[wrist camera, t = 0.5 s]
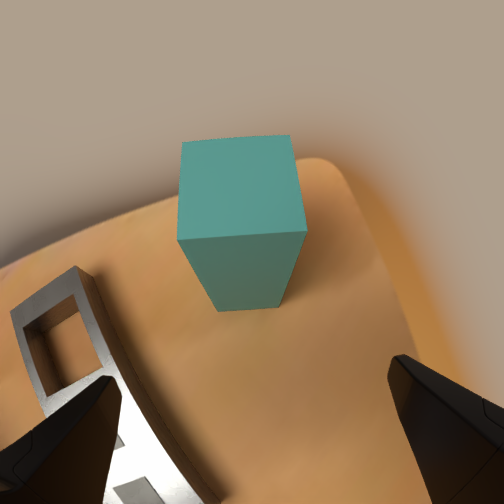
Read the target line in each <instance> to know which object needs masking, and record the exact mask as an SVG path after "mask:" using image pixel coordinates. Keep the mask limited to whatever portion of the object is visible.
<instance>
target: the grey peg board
mask: <svg viewBox="0 0 504 504" xmlns="http://www.w3.org/2000/svg"><path fill="white" fill-rule="evenodd" d="M77 311H80V314H81V316H82V319H83V322H84V324H85V327H86V329H87V332H88V334H89V336H90V339H91V341H92V343H93V346H94V348H95V350H96V353H97V355H98V357H99V359H100V362H101V364H102V366H103V367H102V368H101V369H99V370H97V371H95V372H93V373H91V374H90V375H88V376H86V377H84V378H82V379H81V380H79V381H77V382H75V383H73V384H71V385H70V386H68V387H66V388H63V385H62V383H61V381H60V378H59V376H58V373H57V371H56V368H55V366H54V363H53V361H52V358H51V355H50V353H49V350H48V347H47V344H46V341H45V338H44V335H43V333H45V332H46V331H48V330H49V329H51V328H52V327H54V326H56V325H57V324H59V323H60V322H62V321H63V320H65V319H66V318H68V317H70V316H71V315H73V314H74V313H76V312H77ZM10 314H11V318H12V322H13V326H14V330H15V333H16V337H17V340H18V344H19V347H20V350H21V353H22V357H23V360H24V363H25V366H26V369H27V371H28V374H29V377H30V380H31V382H32V385H33V388H34V390H35V393H36V395H37V398H38V400H39V402H40V405H41V407H42V409H43V412H44V414H45V416H46V418H47V417H49V416H50V415H51V414H52V413H54V412H55V411H56V410H58V409H59V408H60V407H62V406H63V405H64V404H65V403H67V402H68V401H69V400H71V399H72V398H73V397H74V396H76V395H77V394H78V393H80V392H81V391H82V390H83V389H85V388H86V387H87V386H89V385H90V384H91V383H92V382H94V381H95V380H96V379H98V378H99V377H100V376H102V375H109V376H113V377H114V378H115V379H116V382H117V384H118V386H119V389H120V391H121V393H122V404H121V411H120V419H119V426H118V434H117V439H116V444H115V448H114V452H113V456H112V461H111V465H110V470H109V474H108V479H107V484H106V489H105V494H104V499H103V504H221V502H220V500H219V499H218V498H217V497H216V495H215V494H214V493H213V492H212V490H211V489H210V488H209V487H208V485H207V484H206V483H205V481H204V480H203V479H202V477H201V476H200V475H199V473H198V472H197V471H196V469H195V468H194V467H193V465H192V464H191V462H190V461H189V460H188V458H187V457H186V455H185V454H184V452H183V451H182V449H181V448H180V447H179V445H178V444H177V442H176V441H175V439H174V437H173V436H172V434H171V433H170V431H169V430H168V428H167V427H166V425H165V423H164V422H163V420H162V418H161V417H160V415H159V414H158V412H157V410H156V408H155V407H154V405H153V403H152V402H151V400H150V398H149V396H148V395H147V393H146V391H145V389H144V388H143V386H142V384H141V382H140V380H139V378H138V376H137V375H136V373H135V371H134V369H133V367H132V365H131V363H130V361H129V359H128V357H127V355H126V353H125V351H124V349H123V347H122V345H121V343H120V341H119V338H118V336H117V334H116V332H115V330H114V328H113V325H112V323H111V321H110V319H109V316H108V314H107V312H106V309H105V307H104V304H103V302H102V300H101V297H100V295H99V292H98V290H97V287H96V284H95V282H94V279H93V277H92V276H90V275H89V274H87V273H86V272H84V271H83V270H82V269H80V268H79V267H77V266H76V265H75V266H74V267H72V268H71V269H69V270H68V271H66V272H65V273H63V274H62V275H60V276H59V277H57V278H56V279H54V280H53V281H51V282H50V283H49V284H47V285H46V286H44V287H43V288H41V289H40V290H39V291H37V292H36V293H34V294H33V295H32V296H30V297H29V298H27V299H26V300H25V301H23V302H22V303H21V304H19V305H18V306H17V307H15V308H14V309H13V310H11V311H10Z"/></svg>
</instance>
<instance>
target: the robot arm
mask: <svg viewBox="0 0 504 504" xmlns="http://www.w3.org/2000/svg"><path fill="white" fill-rule="evenodd" d="M387 379H388V383H389V386H390V390H391V393H392V396H393V400H394V403H395V406H396V410H397V413H398V416H399V419H400V422H401V424H402V426H403V429H404V431H405V434H406V436H407V438H408V441H409V443H410V446H411V448H412V451H413V453H414V456H415V458H416V461H417V464H418V466H419V469H420V471H421V474H422V477H423V479H424V482H425V485H426V488H427V490H428V493H429V496H430V499H431V502H432V504H504V408H502V407H500V406H498V405H496V404H494V403H492V402H490V401H488V400H486V399H484V398H482V397H481V396H479V395H477V394H475V393H473V392H472V391H470V390H468V389H466V388H464V387H462V386H461V385H459V384H457V383H455V382H453V381H452V380H450V379H448V378H446V377H444V376H443V375H441V374H439V373H437V372H435V371H434V370H432V369H430V368H428V367H426V366H425V365H423V364H421V363H419V362H418V361H416V360H414V359H412V358H410V357H409V356H407V355H405V354H402V355H397V356H394V357H393V358H392V360H391V364H390V367H389V371H388V375H387ZM121 404H122V393H121V391H120V389H119V386H118V384H117V382H116V379H115V378H114V377H113V376H109V375H102V376H100V377H99V378H98V379H96V380H95V381H94V382H92V383H91V384H90V385H89V386H87V387H86V388H85V389H83V390H82V391H81V392H80V393H78V394H77V395H76V396H74V397H73V398H72V399H71V400H69V401H68V402H67V403H65V404H64V405H63V406H62V407H60V408H59V409H58V410H56V411H55V412H54V413H52V414H51V415H50V416H49V417H47V418H46V419H45V420H43V421H42V422H41V423H40V424H38V425H37V426H36V427H34V428H33V429H32V430H30V431H29V432H28V433H26V434H25V435H24V436H23V437H21V438H20V439H18V440H17V441H16V442H14V443H13V444H11V445H10V446H8V447H7V448H5V449H3V450H2V451H0V504H103V499H104V494H105V489H106V484H107V479H108V474H109V470H110V465H111V461H112V456H113V452H114V448H115V444H116V439H117V434H118V426H119V419H120V411H121Z"/></svg>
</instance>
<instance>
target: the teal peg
mask: <svg viewBox="0 0 504 504" xmlns="http://www.w3.org/2000/svg"><path fill="white" fill-rule="evenodd" d="M179 183H180V184H179V200H178V222H177V241H178V243H179V245H180V246H181V248H182V250H183V252H184V254H185V255H186V257H187V259H188V261H189V263H190V264H191V266H192V268H193V270H194V271H195V273H196V275H197V277H198V279H199V280H200V282H201V284H202V285H203V287H204V289H205V291H206V292H207V294H208V296H209V297H210V299H211V301H212V303H213V304H214V306H215V308H216V309H217V311H218V312H221V311H237V310H251V309H265V308H277V307H279V305H280V302H281V300H282V297H283V295H284V292H285V289H286V287H287V284H288V282H289V279H290V277H291V274H292V271H293V269H294V266H295V263H296V261H297V258H298V255H299V253H300V250H301V247H302V245H303V242H304V239H305V237H306V234H307V231H308V230H307V224H306V218H305V212H304V206H303V201H302V195H301V190H300V184H299V179H298V174H297V168H296V163H295V158H294V153H293V148H292V143H291V139H290V135H274V136H252V137H235V138H223V139H211V140H200V141H192V142H183V143H182V154H181V168H180V182H179Z"/></svg>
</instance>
